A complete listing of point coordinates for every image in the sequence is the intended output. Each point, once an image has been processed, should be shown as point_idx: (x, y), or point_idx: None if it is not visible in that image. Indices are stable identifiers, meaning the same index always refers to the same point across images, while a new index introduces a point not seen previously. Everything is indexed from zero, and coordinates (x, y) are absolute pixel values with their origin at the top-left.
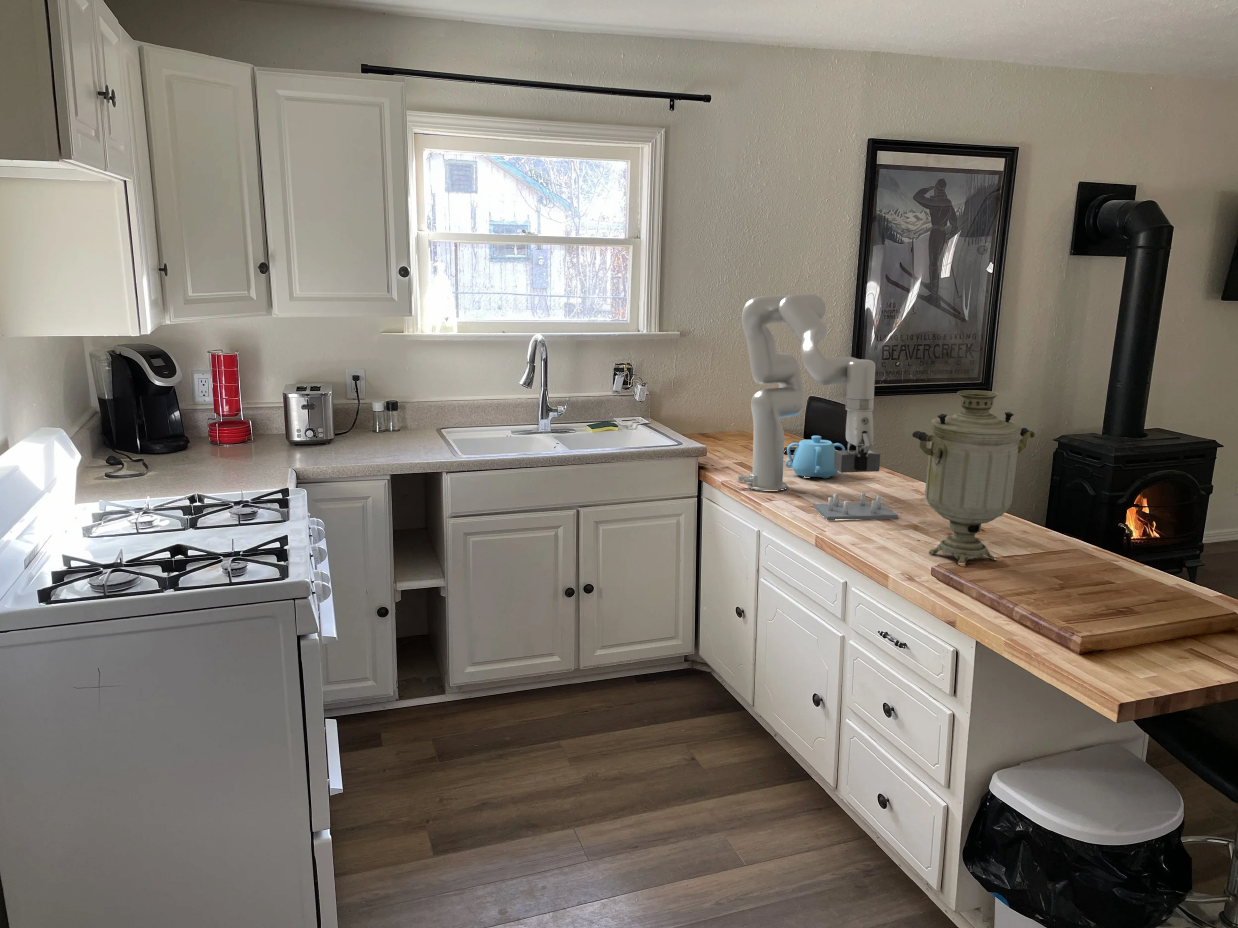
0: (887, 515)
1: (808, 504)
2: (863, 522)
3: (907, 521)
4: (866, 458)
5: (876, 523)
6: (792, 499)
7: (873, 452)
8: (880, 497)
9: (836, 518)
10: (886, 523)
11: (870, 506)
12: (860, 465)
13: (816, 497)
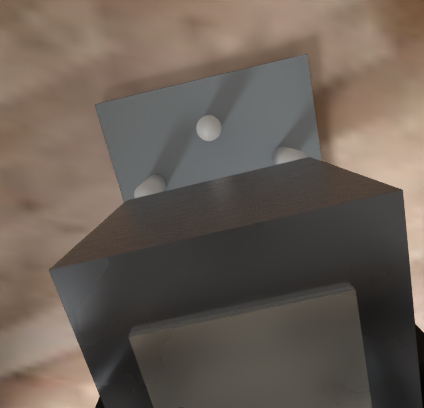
0: (312, 102)
1: None
2: None
3: (339, 20)
4: (421, 349)
5: (368, 155)
6: (65, 397)
7: (283, 279)
8: (219, 121)
9: None
10: (369, 116)
11: (177, 155)
12: None
13: (16, 325)
